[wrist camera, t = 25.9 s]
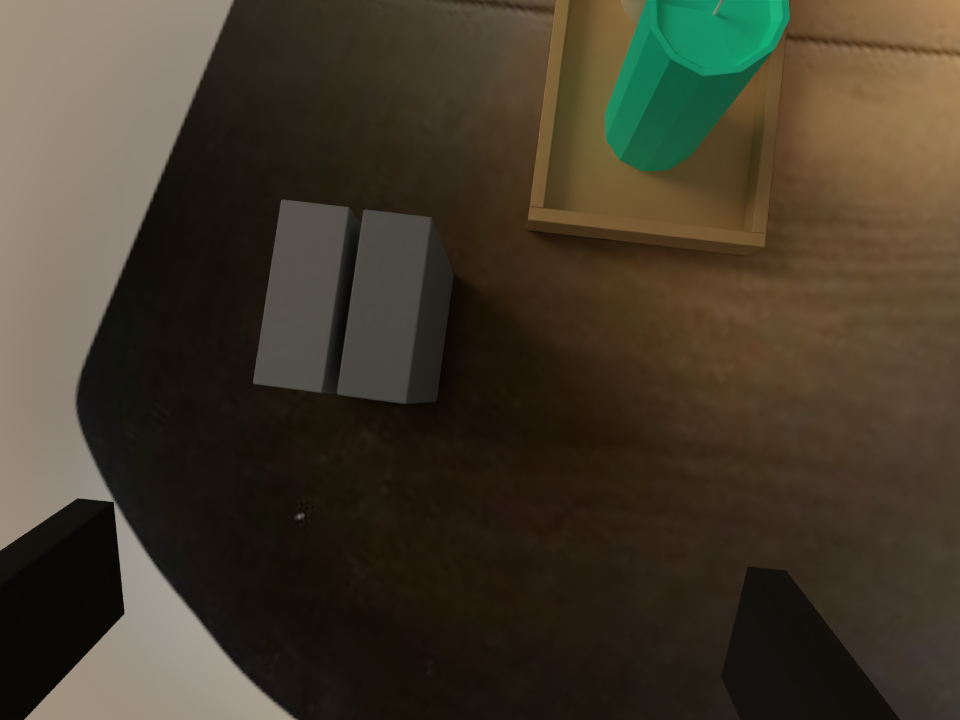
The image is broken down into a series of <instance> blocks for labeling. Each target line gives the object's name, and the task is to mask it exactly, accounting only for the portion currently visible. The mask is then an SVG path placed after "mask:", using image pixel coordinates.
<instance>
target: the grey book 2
mask: <svg viewBox="0 0 960 720" xmlns="http://www.w3.org/2000/svg"><path fill="white" fill-rule="evenodd" d="M453 276H454V273H453V271H452V268H451V265H450V263H449V260H448V258H447V255H446V253H445V250H444V248H443V245H442V242H441V240H440V237H439V235H438V232H437V230H436V227H435V224H434V222H433V219H432V218H431V217H424V216H416V215H407V214H399V213H390V212H382V211H373V210H364V211H363V217H362V224H361V231H360V238H359V245H358V252H357V258H356V265H355V272H354V279H353V286H352V293H351V300H350V307H349V313H348V320H347V327H346V334H345V341H344V348H343V355H342V361H341V368H340V375H339V382H338V389H337V394H338V395H341V396H349V397H356V398H364V399H372V400H379V401H387V402H394V403H402V404H410V403H422V402H435V401H437V395H438V387H439V380H440V373H441V365H442V358H443V350H444V343H445V336H446V328H447V321H448V313H449V306H450V299H451V291H452V284H453Z"/></svg>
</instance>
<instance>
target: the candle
mask: <svg viewBox="0 0 960 720" xmlns="http://www.w3.org/2000/svg"><path fill="white" fill-rule="evenodd" d="M789 20H790V15H789V0H646V3H645V6H644V8H643V11H642V14H641V16H640V19H639V22H638V25H637V27H636V30H635V33H634V36H633V38H632V41H631V44H630V46H629V49H628V52H627V55H626V57H625V60H624V63H623V66H622V68H621V71H620V74H619V76H618V79H617V82H616V85H615V87H614V90H613V93H612V96H611V98H610V101H609V104H608V106H607V109H606V112H605V115H604V117H605V134H606V141H607V142H608V144H609V145H610V147H611V148H612V149H613V151H614V152H615V154H616V155H617V157H618V158H619V160H620V161H622V162H624V163H626V164H628V165H631V166H633V167H635V168H637V169H639V170H641V171H643V172H644V171H662V170H670V169H671V168H673V167H675V166H676V165H678V164H679V163H681V162H682V161H684V160H686V159H687V158H689V157H690V156H691V155H692V154H693V152H694V151H695V150H696V149H697V147H698V146H699V145H700V144H701V142H702V141H703V140H704V139H705V137H706V136H707V135H708V133H709V132H710V131H711V130H712V128H713V127H714V126H715V125H716V123H717V122H718V121H719V119H720V118H721V117H722V116H723V114H724V113H725V112H726V111H727V109H728V108H729V107H730V105H731V104H732V103H733V102H734V100H735V99H736V98H737V97H738V95H739V94H740V93H741V92H742V90H743V89H744V88H745V86H746V85H747V84H748V83H749V81H750V80H751V79H752V78H753V76H754V75H755V74H756V72H757V71H758V70H759V69H760V67H761V66H762V65H763V64H764V62H765V61H766V60H767V59H768V57H769V56H770V55H771V53H772V52H773V51H774V50H775V48H776V46H777V44H778V42H779V40H780V38H781V36H782V34H783V32H784V30H785V28H786V26H787V24H788V22H789Z"/></svg>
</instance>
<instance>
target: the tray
mask: <svg viewBox="0 0 960 720" xmlns="http://www.w3.org/2000/svg"><path fill="white" fill-rule="evenodd" d="M789 7H790V0H789ZM787 26H788V24H787ZM787 26H786V28H785V30H784V32H783V34H782V36H781V38H780V40H779V42H778V44H777V46H776V48H775V50H774V51H773V52H772V53H771V55H770V56H769V57H768V59H767V60H766V61H765V62H764V64H763V65H762V66H761V67H760V69H759V70H758V71H757V72H756V74H755V75H754V76H753V78H752V79H751V80H750V81H749V83H748V84H747V85H746V86H745V88H744V89H743V90H742V92H741V93H740V94H739V95H738V97H737V98H736V99H735V100H734V102H733V103H732V104H731V105H730V107H729V108H728V109H727V111H726V112H725V113H724V114H723V116H722V117H721V118H720V119H719V121H718V122H717V123H716V125H715V126H714V127H713V128H712V130H711V131H710V132H709V133H708V135H707V136H706V137H705V139H704V140H703V141H702V142H701V144H700V145H699V146H698V147H697V149H696V150H695V151H694V152H693V154H692V155H691V156H690V157H689V158H687V159H686V160H684V161H682V162H681V163H679V164H678V165H676V166H675V167H673V168H671V169H670V170H662V171H644V172H643V171H641V170H639V169H637V168H635V167H633V166H631V165H628V164H626V163H624V162H622V161H620V160H619V158H618V157H617V155H616V154H615V152H614V151H613V149H612V148H611V147H610V145H609V144H608V142H607V141H606V134H605V117H604V115H605V112H606V109H607V106H608V104H609V101H610V98H611V96H612V93H613V90H614V87H615V85H616V82H617V79H618V76H619V74H620V71H621V68H622V66H623V63H624V60H625V57H626V55H627V52H628V49H629V46H630V44H631V41H632V38H633V36H634V33H635V30H636V27H637V26H636V25H635V24H634V23H633V22H632V21H631V20H630V19H629V17H628V16H627V15H626V13H625V11H624V9H623V6H622V4H621V0H556V4H555V12H554V20H553V28H552V35H551V43H550V51H549V59H548V67H547V74H546V82H545V90H544V98H543V106H542V114H541V121H540V129H539V137H538V145H537V153H536V160H535V168H534V176H533V184H532V192H531V199H530V207H529V215H528V223H527V230H531V231H539V232H548V233H556V234H565V235H573V236H582V237H590V238H599V239H607V240H616V241H624V242H633V243H641V244H650V245H658V246H667V247H675V248H684V249H692V250H701V251H710V252H718V253H727V254H735V255H744V256H750V255H752V254H753V253H755V252H757V251H759V250H761V249H762V248H764V247H765V240H766V231H767V221H768V211H769V202H770V192H771V182H772V172H773V163H774V153H775V143H776V133H777V124H778V114H779V104H780V94H781V85H782V75H783V65H784V55H785V46H786V36H787Z"/></svg>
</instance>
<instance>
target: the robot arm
mask: <svg viewBox="0 0 960 720" xmlns="http://www.w3.org/2000/svg"><path fill="white" fill-rule="evenodd" d="M117 543H118V542H117V533H116V522H115V512H114V502H107V501H98V500H88V499H76V500H75V501H73V502H72V503H70V504H69V505H67V506H66V507H64V508H63V509H61V510H60V511H58V512H57V513H55V514H54V515H53V516H51V517H49V518H48V519H47V520H45V521H44V522H42V523H41V524H39V525H38V526H36V527H35V528H33V529H32V530H30V531H29V532H28V533H26V534H24V535H23V536H22V537H20V538H18V539H17V540H15V541H14V542H12V543H11V544H9V545H8V546H7V547H5V548H4V549H2V550H1V551H0V720H24V719H25V718H26V717H27V716H28V715H29V714H30V713H31V712H32V711H33V710H34V709H35V708H36V707H37V705H38V704H39V703H40V702H41V701H42V700H43V699H44V698H45V697H46V696H47V695H48V694H49V693H50V691H52V690H53V689H54V688H55V687H56V685H57V684H58V683H59V682H60V681H61V680H62V679H63V678H64V677H65V676H66V675H67V674H68V673H69V672H70V671H71V670H72V669H73V668H74V666H75V665H76V664H77V663H78V662H79V661H80V660H81V659H82V658H83V657H84V656H85V655H86V654H87V653H88V652H89V650H90V649H91V648H92V647H93V646H94V645H95V644H96V643H97V642H98V641H99V640H100V639H101V638H102V637H103V636H104V635H105V634H106V633H107V632H108V630H109V629H110V628H111V627H112V626H113V625H114V624H115V623H116V622H117V621H118V620H119V619H120V618H121V617H122V616H123V615H124V603H123V593H122V583H121V573H120V562H119V553H118V544H117ZM721 678H722V680H723V682H724V685H725V687H726V689H727V691H728V693H729V696H730V698H731V700H732V702H733V704H734V707H735V709H736V711H737V713H738V715H739V718H740V720H900V719H899V718H898V716H897V715H896V714H895V712H894V711H893V710H892V708H891V707H890V706H889V705H888V703H887V702H886V701H885V699H884V698H883V697H882V695H881V694H880V693H879V691H878V690H877V689H876V688H875V686H874V685H873V684H872V682H871V681H870V680H869V678H868V677H867V676H866V674H865V673H864V672H863V671H862V669H861V668H860V667H859V665H858V664H857V663H856V661H855V660H854V659H853V657H852V656H851V655H850V654H849V652H848V651H847V650H846V648H845V647H844V646H843V644H842V643H841V642H840V640H839V639H838V638H837V637H836V635H835V634H834V633H833V631H832V630H831V629H830V627H829V626H828V625H827V623H826V622H825V621H824V620H823V618H822V617H821V616H820V614H819V613H818V612H817V610H816V609H815V608H814V606H813V605H812V604H811V603H810V601H809V600H808V599H807V597H806V596H805V595H804V593H803V592H802V591H801V589H800V588H799V587H798V585H797V584H796V583H795V582H794V580H793V579H792V578H791V576H790V575H789V574H788V572H787V571H786V570H776V569H766V568H757V567H748V568H747V572H746V577H745V581H744V585H743V589H742V593H741V597H740V601H739V606H738V610H737V614H736V618H735V622H734V626H733V630H732V635H731V639H730V643H729V647H728V651H727V655H726V660H725V664H724V668H723V672H722V676H721Z"/></svg>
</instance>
